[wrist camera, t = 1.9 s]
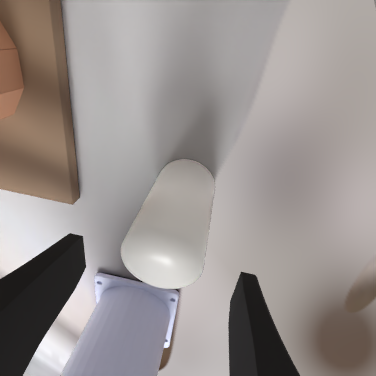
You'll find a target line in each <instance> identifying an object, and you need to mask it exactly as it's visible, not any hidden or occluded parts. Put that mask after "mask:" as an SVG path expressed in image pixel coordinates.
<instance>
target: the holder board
mask: <svg viewBox="0 0 376 376" xmlns="http://www.w3.org/2000/svg"><path fill="white" fill-rule="evenodd" d="M0 189H3V190H8V191H12V192H17V193H21V194H26V195H31V196H35V197H40V198H44V199H49V200H54V201H58V202H63V203H68V204H72V205H73V204H74V203H75V202H76V201H77V200H78V199H79V198H80V195H79V185H78V175H77V164H76V154H75V144H74V134H73V124H72V113H71V103H70V93H69V83H68V72H67V62H66V52H65V42H64V31H63V21H62V11H61V1H60V0H0Z"/></svg>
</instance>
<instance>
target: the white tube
mask: <svg viewBox="0 0 376 376" xmlns="http://www.w3.org/2000/svg"><path fill="white" fill-rule="evenodd" d="M214 191H215V181H214V178H213V176H212V174H211V173H210V171H209V170H208V169H207V168H206V167H205V166H204V165H202V164H200V163H199V162H196V161H193V160H189V159H178V160H174V161H172V162H170V163H168V164H167V165H166V166H165V167H164V168H163V169H162V170H161V172H160V174H159V176H158V177H157V179H156V181H155V183H154V185H153V187H152V189H151V190H150V192H149V194H148V196H147V198H146V200H145V202H144V203H143V205H142V207H141V209H140V211H139V213H138V215H137V216H136V218H135V220H134V222H133V224H132V226H131V228H130V229H129V231H128V233H127V235H126V237H125V239H124V241H123V242H122V245H121V258H122V261H123V263H124V265H125V266H126V268H127V269H128V270H129V271H130V272H131V273H132V274H133V275H134V276H135V277H136V278H138V279H139V280H141V281H143V282H145V283H147V284H149V285H152V286H155V287H159V288H165V289H178V288H183V287H186V286H189V285H191V284H193V283H194V282H195V281H197V280H198V279H199V277H200V276H201V274H202V272H203V268H204V261H205V255H206V247H207V240H208V234H209V227H210V220H211V212H212V206H213V198H214Z"/></svg>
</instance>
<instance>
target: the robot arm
mask: <svg viewBox="0 0 376 376" xmlns="http://www.w3.org/2000/svg"><path fill="white" fill-rule="evenodd" d="M85 268H86V262H85V252H84V243H83V236H80V235H75V234H71V233H70V234H68V235H67V236H65V237H64V238H62V239H61V240H59V241H58V242H56V243H55V244H54V245H52V246H51V247H49V248H48V249H46V250H45V251H43V252H42V253H41V254H39V255H38V256H36V257H35V258H33V259H32V260H30V261H28V262H27V263H25V264H24V265H22V266H21V267H19V268H18V269H16V270H14V271H13V272H11V273H10V274H8V275H6V276H5V277H3V278H1V279H0V376H23V374H24V372H25V370H26V368H27V366H28V364H29V363H30V361H31V359H32V357H33V355H34V353H35V351H36V350H37V348H38V346H39V344H40V343H41V341H42V339H43V338H44V336H45V334H46V333H47V331H48V330H49V328H50V327H51V325H52V324H53V322H54V321H55V319H56V318H57V316H58V314H59V313H60V311H61V310H62V308H63V307H64V305H65V304H66V302H67V301H68V299H69V298H70V296H71V294H72V293H73V291H74V290H75V288H76V286H77V284H78V282H79V280H80V278H81V276H82V274H83V272H84V270H85ZM94 280H95V293H96V307H95V309H94V311H93V313H92V315H91V317H90V319H89V320H88V322H87V324H86V326H85V328H84V330H83V332H82V334H81V336H80V338H79V340H78V342H77V344H76V346H75V348H74V350H73V352H72V354H71V356H70V358H69V360H68V362H67V363H66V365H65V367H64V369H63V371H62V373H61V375H60V376H157V374H158V370H159V365H160V361H161V357H162V352H163V348H167V347H169V345H170V340H171V335H172V330H173V324H174V319H175V314H176V309H177V304H178V299H179V292H178V291H176V290H173V289H165V288H159V287H155V286H152V285H149V284H147V283H142V282H138V281H134V280H130V279H125V278H121V277H117V276H112V275H108V274H104V273H97V274H96V275H95V277H94ZM229 366H230V376H300V375H299V373H298V371H297V369H296V367H295V365H294V364H293V362H292V360H291V358H290V356H289V354H288V352H287V350H286V348H285V346H284V344H283V342H282V340H281V337H280V335H279V333H278V331H277V329H276V326H275V324H274V322H273V319H272V317H271V315H270V312H269V310H268V307H267V305H266V302H265V299H264V297H263V294H262V291H261V288H260V286H259V282H258V280H257V277H256V276H255V275H253V274H249V273H244V272H241V274H240V276H239V279H238V282H237V285H236V288H235V290H234V293H233V295H232V298H231V301H230V312H229Z"/></svg>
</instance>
